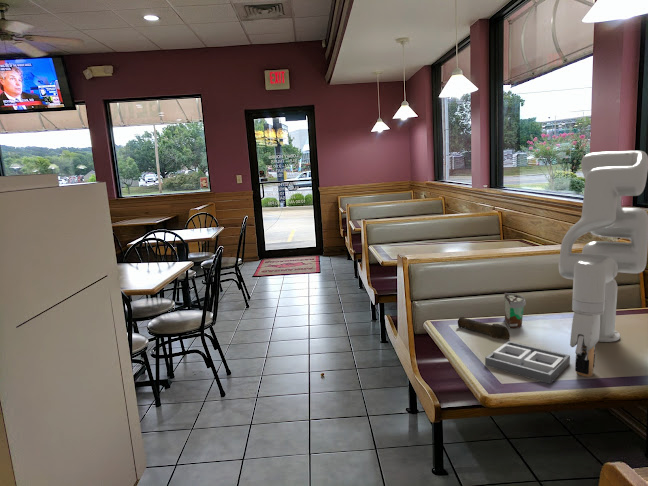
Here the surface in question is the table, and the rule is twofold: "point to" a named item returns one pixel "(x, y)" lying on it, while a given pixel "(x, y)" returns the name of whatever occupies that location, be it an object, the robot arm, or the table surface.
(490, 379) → the table surface
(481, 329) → the hand tool
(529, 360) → the tray
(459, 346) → the table surface
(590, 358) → the rounded peg
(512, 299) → the food container
